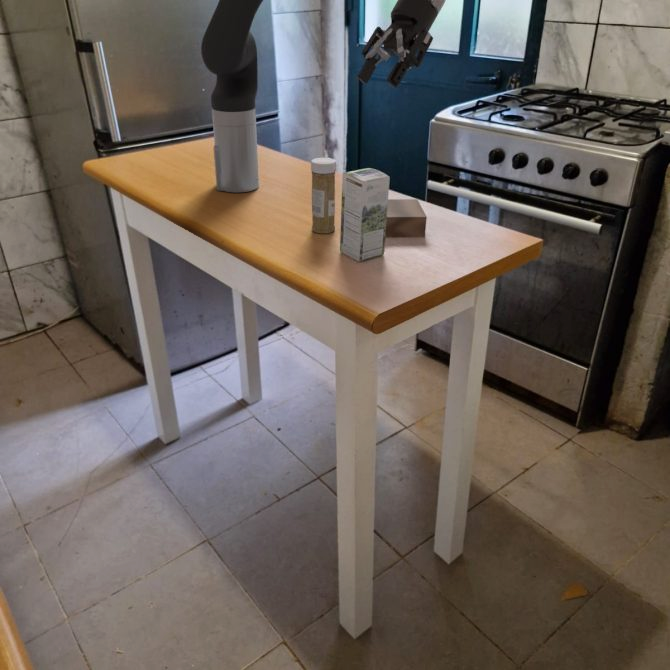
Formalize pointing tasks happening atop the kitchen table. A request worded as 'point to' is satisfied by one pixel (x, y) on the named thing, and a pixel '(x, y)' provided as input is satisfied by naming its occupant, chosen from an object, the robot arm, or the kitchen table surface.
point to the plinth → (405, 218)
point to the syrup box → (364, 213)
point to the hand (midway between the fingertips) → (375, 82)
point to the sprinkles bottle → (323, 195)
